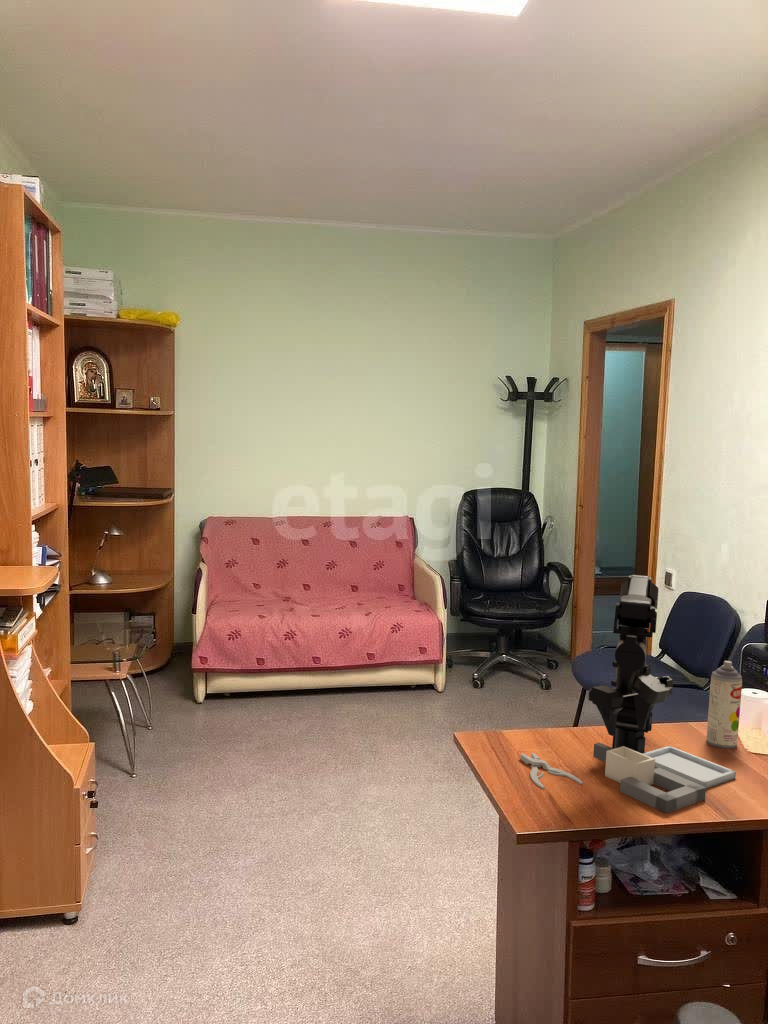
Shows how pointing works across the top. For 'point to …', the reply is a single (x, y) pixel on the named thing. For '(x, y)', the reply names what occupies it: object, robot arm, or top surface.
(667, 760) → the tray
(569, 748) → the top surface
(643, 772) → the box
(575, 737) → the top surface
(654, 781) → the bay
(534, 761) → the pliers
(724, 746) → the aerosol can
